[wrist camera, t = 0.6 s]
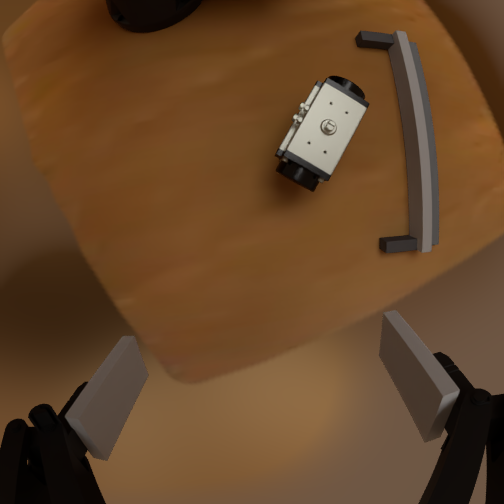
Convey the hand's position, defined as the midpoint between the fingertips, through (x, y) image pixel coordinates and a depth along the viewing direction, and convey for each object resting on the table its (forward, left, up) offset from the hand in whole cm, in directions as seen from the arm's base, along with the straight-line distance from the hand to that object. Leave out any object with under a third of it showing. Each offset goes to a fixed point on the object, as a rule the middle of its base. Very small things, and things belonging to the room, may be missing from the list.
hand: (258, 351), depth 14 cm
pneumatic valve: (-13, +7, -25) cm, 29 cm away
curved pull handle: (-13, +22, -25) cm, 35 cm away
